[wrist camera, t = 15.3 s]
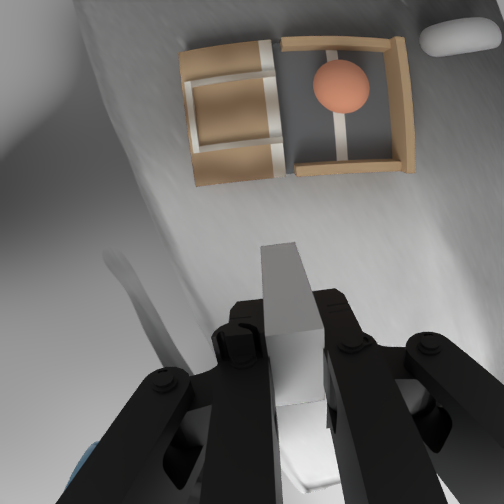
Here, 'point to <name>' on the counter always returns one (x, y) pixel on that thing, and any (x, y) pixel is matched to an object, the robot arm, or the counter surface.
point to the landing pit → (349, 124)
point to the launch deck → (232, 112)
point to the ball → (341, 86)
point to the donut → (460, 37)
